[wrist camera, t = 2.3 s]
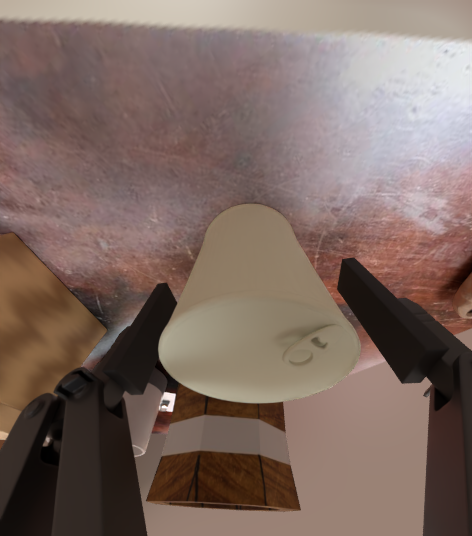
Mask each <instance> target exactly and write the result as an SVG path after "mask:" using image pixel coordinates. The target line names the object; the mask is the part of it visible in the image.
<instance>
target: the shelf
mask: <svg viewBox="0 0 472 536" xmlns="http://www.w3.org/2000/svg"><path fill="white" fill-rule="evenodd" d="M106 332H107V329H106V328H105V327H104V326H103V325H102V324H101V323H100V322H99V321H98V320H97V319H96V318H95V317H94V316H93V314H92V313H91V312H90V311H89V310H88V309H87V308H86V307H85V306H84V305H83V304H82V303H81V302H80V301H79V300H78V299H77V298H76V297H75V296H74V295H73V294H72V293H71V292H70V291H69V290H68V289H67V288H66V287H65V286H64V284H63V283H62V282H61V281H60V280H59V279H58V278H57V277H56V276H55V275H54V274H53V273H52V272H51V271H50V270H49V269H48V268H47V267H46V266H45V265H44V264H43V263H42V262H41V261H40V260H39V259H38V258H37V257H36V256H35V254H34V253H33V252H32V251H31V250H30V249H29V248H28V247H27V246H26V245H25V244H24V243H23V242H22V241H21V240H20V239H19V238H18V237H17V236H16V235H15V234H14V233H13V232H12V233H7V234H2V235H0V440H6V438H7V436H8V435H9V433H10V431H11V429H12V427H13V425H14V423H15V421H16V420H17V418H18V416H19V415H20V413H21V412H22V410H23V409H24V408H25V407H26V406H27V405H28V404H29V403H30V402H31V401H32V400H34V399H35V398H36V397H38V396H40V395H42V394H44V393H51V394H53V395H55V396H58V395H56V394H55V393H53V392H54V389H55V387H56V385H57V384H58V383H59V381H60V380H61V379H62V378H63V377H64V376H65V375H67V374H68V373H69V372H71V371H72V370H74V369H76V368H80V366H81V365H82V364H83V362H84V361H85V360H86V358H87V357H88V356H89V354H90V353H91V352H92V350H93V349H94V348H95V346H96V345H97V344H98V342H99V341H100V340H101V338H102V337H103V336H104V334H105V333H106Z"/></svg>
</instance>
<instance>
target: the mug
mask: <svg viewBox="0 0 472 536" xmlns="http://www.w3.org/2000/svg"><path fill="white" fill-rule="evenodd" d="M146 501H148V502H151V503H155V504H161V505H172V506H184V507H195V508H212V509H229V510H249V511H283V512H285V511H298V510H301V509H300V504H299V500H298V496H297V492H296V487H295V483H294V478H293V474H292V470H291V466H290V460H289V453H288V446H287V439H286V432H285V421H284V409H283V402H275V403H243V402H234V401H227V400H222V399H218V398H214V397H210V396H207V395H204V394H201V393H198V392H196V391H194V390H192V389H190V388H188V387H186V386H184V385H182V384H181V383H179V386H178V388H177V391H176V396H175V402H174V407H173V412H172V417H171V422H170V427H169V430H168V434H167V438H166V442H165V445H164V449H163V453H162V457H161V460H160V463H159V465H158V468H157V471H156V474H155V477H154V480H153V483H152V485H151V488H150V491H149V494H148V497H147V500H146Z"/></svg>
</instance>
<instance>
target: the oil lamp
mask: <svg viewBox="0 0 472 536" xmlns="http://www.w3.org/2000/svg"><path fill="white" fill-rule="evenodd" d="M452 306H453V309H454V311H455V312H456V313H457V314H458V315H460V316H461V317H462V318H472V272H471V274H470V275H469V276H468V278H467V279H466V280H465V281H464V282H463V283H462V285H461V286H460V287H459V289H458V290H457V292H456V294H455V295H454V297H453V300H452Z"/></svg>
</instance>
